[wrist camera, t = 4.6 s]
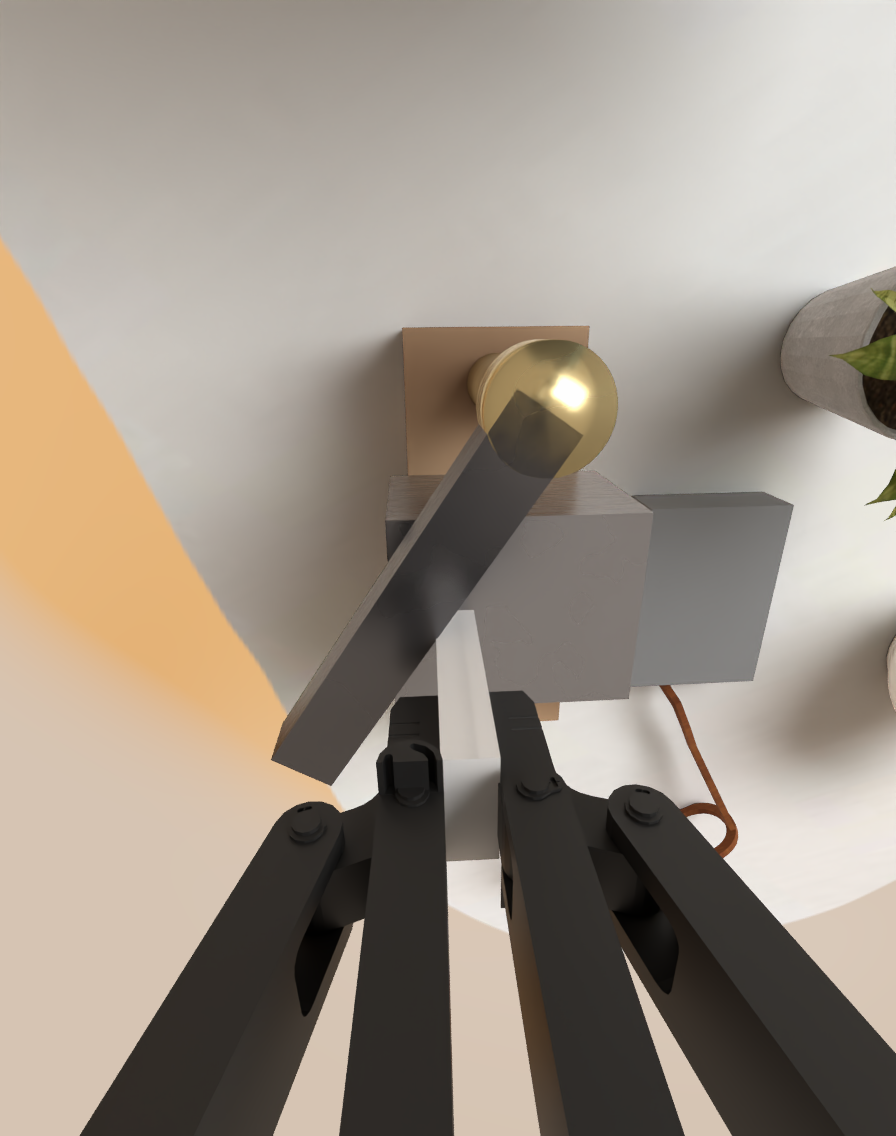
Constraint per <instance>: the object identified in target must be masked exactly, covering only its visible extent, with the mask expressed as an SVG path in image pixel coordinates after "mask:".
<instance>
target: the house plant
mask: <svg viewBox="0 0 896 1136" xmlns="http://www.w3.org/2000/svg"><path fill="white" fill-rule="evenodd" d="M781 370H782V373H783V377H784V380H785V382H786V383H787V385H788V386H789V388H790V389H791V391H792V392H794V393H795V394H796V395H798V396H799V397H800V398H802V399H804V400H806V401H808V402H811V403H813V404H815V405H817V406H820V407H822V408H824V409H826V410H828V411H831V412H833V413H835V414H837V415H839V416H842V417H844V418H846V419H848V420H851V421H853V422H855V423H857V424H859V425H862V426H864V427H866V428H868V429H870V430H873V431H875V432H877V433H879V434H881V435H884V436H886V437H888V438H892V439H895V440H896V267H893V268H890V269H887V270H884V271H882V272H879V273H876V274H873V275H870V276H867V277H865V278H862V279H859V280H856V281H853V282H850V283H848V284H845V285H842V286H839V287H836V288H834V289H831V290H828V291H826V292H824V293H822V294H820V295H819V296H817V297H815V298H813V299H812V300H811V301H810V302H809V303H808V304H807V305H806V306H804V307H803V308H802V309H801V310H800V312H799V313H798V314H797V316H796V317H795V318H794V320H793V321H792V323H791V324H790V326H789V328H788V331H787V333H786V335H785V337H784V340H783V345H782V350H781ZM890 500H896V469H895V471H894V474H893V476H892V478H891V480H890V482H889V484H888V485H887V487H886V488H885V489H884V490H883V492H882V493H881V494H880V495H879V497H878V498H877V499H876V500H874V501H872V502H870V503H868V504H873V503H877V502H883V501H890ZM868 504H866V505H868ZM895 515H896V507H895V508H894V510H893V511H892V513H891V515H890V516H889V518H888V519H890V518H892V517H894V516H895ZM888 519H886V520H888ZM884 521H885V520H884Z"/></svg>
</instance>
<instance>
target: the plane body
mask: <svg viewBox="0 0 896 1136" xmlns="http://www.w3.org/2000/svg"><path fill="white" fill-rule="evenodd" d="M402 333H403V360H404V387H405V413H406V440H407V466H408V475H446V473H447V472H448V470H449V469H450V467H451V465H452V464H453V462H454V461H455V459H456V458H457V456H458V455H459V453H460V452H461V450H462V449H463V447H464V446H465V444H466V443H467V441H468V440H469V438H470V436H471V435H472V433H473V432H474V430H475V429H476V427H477V426H478V424H479V423H478V419H477V413H476V399H477V392H478V388H479V385H480V382H481V380H482V377H483V375H484V374H485V372H486V370H487V369H488V367H489V366H490V364H491V363H492V362H493V361H494V360H495V359H496V358H497V357H498V356H499V355H500V354H501V353H502V352H504V351H505V350H507V349H508V348H510V347H511V346H514V345H516V344H518V343H521V342H524V341H528V340H534V339H555V340H567V341H572V342H575V343H578V344H580V345H583V346H585V347H587V348H588V338H589V326H528V327H425V328H402ZM559 704H560V702H553V703H535V707H536V710H537V713H538V718H539V720H540V721H551V720H558V717H559Z"/></svg>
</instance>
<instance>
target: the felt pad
mask: <svg viewBox="0 0 896 1136" xmlns="http://www.w3.org/2000/svg"><path fill="white" fill-rule="evenodd" d="M632 498H634V499H635V500H637V501H638V502H639V503H641V504H642V505H644V506H645V507H646V508H648V509H649V510H651V511H652V512H653V513H654V514H653V521H652V529H651V536H650V544H649V551H648V559H647V566H646V573H645V581H644V588H643V596H642V603H641V610H640V618H639V625H638V633H637V640H636V648H635V655H634V662H633V670H632V677H631V685H630V687H636V686H657V685H677V684H698V683H718V682H738V681H753V678H754V674H755V670H756V665H757V661H758V657H759V652H760V648H761V644H762V639H763V635H764V631H765V627H766V622H767V618H768V614H769V609H770V605H771V601H772V596H773V592H774V588H775V583H776V579H777V575H778V571H779V566H780V562H781V558H782V553H783V549H784V545H785V540H786V536H787V532H788V528H789V523H790V519H791V515H792V510H793V506H794V505H792V504H790V503H788V502H785V501H783V500H781V499H779V498H776V497H774V496H772V495H769V494H767V493H765V492H741V493H706V494H670V495H635V496H632Z"/></svg>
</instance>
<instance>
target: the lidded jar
mask: <svg viewBox="0 0 896 1136" xmlns="http://www.w3.org/2000/svg"><path fill="white" fill-rule="evenodd" d="M886 663H887V670H888V691H889V694H890V698H891V701H892V705H893V708H894V710H895V711H896V636H895V637H894V639H893V640H892V643H891V645H890V647H889V650H888V653H887V660H886Z"/></svg>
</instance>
